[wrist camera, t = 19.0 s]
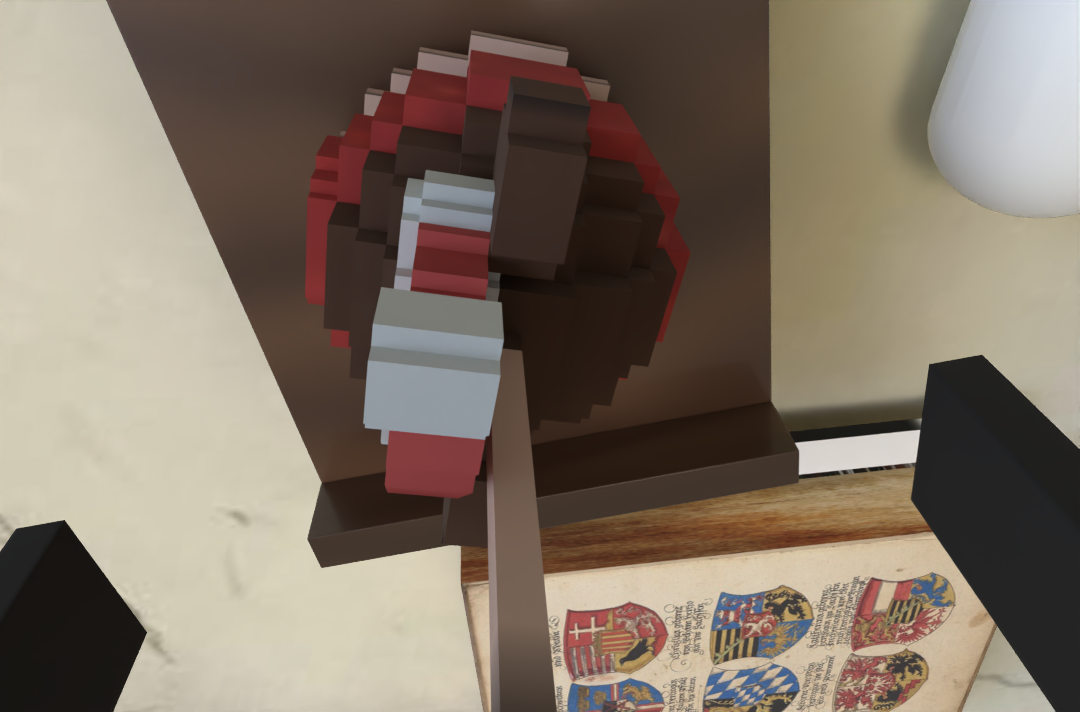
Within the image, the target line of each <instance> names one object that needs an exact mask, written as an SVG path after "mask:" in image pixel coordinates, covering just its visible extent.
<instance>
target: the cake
mask: <svg viewBox="0 0 1080 712" xmlns="http://www.w3.org/2000/svg"><path fill="white" fill-rule="evenodd" d="M568 53H569V52H568V50H567V48H565V47H559V46H554V45H548V44H543V43H538V42H532V41H527V40H521V39H516V38H511V37H505V36H500V35H494V34H489V33H483V32H478V31H473V30H471V38H470V46H469V53H468V55H462V54H457V53H451V52H445V51H440V50H434V49H429V48H423V47H420V49H419V53H418V64H417V69H416V68H413V71H410V70H404V69H399V68H393V71H392V74H391V87H390V92H389V91H384V90H378V89H372V88H368V89H367V91H366V93H365V104H364V115H363V114H357V113H355V115H354V117H353V119H352V121H351V123H350V125H349V127H348V129H347V131H341V133H340V135H339V137H337V136H331V135H327V137H326V138H325V140H324V142H323V144H322V146H321V147H320V149H319V151H318V153H317V154H316V169H315V171H314V173H313V175H312V176H311V178H310V193H309V195H308V197H307V237H306V280H305V298H307V303H309V304H317V305H324V327H323V328H324V329H331V345H330V346H333V347H342V348H351V360H350V377H349V378H355V379H364V380H366V393H365V406H364V419H363V424H365V428H371V429H381V430H382V431H381V444H387V445H388V449H387V459H386V476H385V487H386V490H387V493H399V494H410V495H422V496H434V497H444V503H443V519H442V538H441V543H443V544H445V545H458V546H471V547H484V548H488V572H489V627H490V681H491V712H557V707H556V697H555V686H554V676H553V666H552V655H551V645H550V635H549V624H548V614H547V604H546V594H545V583H544V573H543V563H542V552H541V542H540V532H539V521H538V511H537V501H536V490H535V480H534V470H533V459H532V449H531V439H530V434H531V435H532V433H533V430H539V428H540V423H541V420H548V421H558V422H567V423H577V424H580V423H581V419H589V417H590V413H591V410H592V406H593V404H594V405H603V406H611V403H612V399H613V396H614V393H615V389H616V386H617V382H618V379H621V380H627V378H628V375H629V371H630V368H631V365H637V366H645V367H648V366H649V363H650V359H651V356H652V353H653V350H654V346H655V343H656V342H663V339H664V336H665V333H666V329H667V326H668V323H669V320H670V317H671V314H672V310H673V307H674V304H675V301H676V298H677V295H678V291H679V288H680V285H681V282H682V279H683V275H684V272H685V269H686V266H687V263H688V260H689V256H690V253H691V252H690V250H689V249H688V247H687V245H686V243H685V242H684V240H683V238H682V236H681V234H680V233H679V231H678V229H677V227H676V226H675V224H674V222H673V221H674V218H675V215H676V211H677V208H678V204H679V201H680V197H679V196H678V194H677V192H676V191H675V189H674V188H673V186H672V184H671V183H670V181H669V180H668V178H667V176H666V175H665V173H664V172H663V170H662V169H661V166H660V165H659V163H658V162H657V160H656V158H655V157H654V155H653V154H652V152H651V150H650V149H649V147H648V146H647V144H646V143H645V141H644V139H643V138H642V136H641V134H640V132H639V131H638V129H637V128H636V126H635V124H634V123H633V121H632V120H631V118H630V116H629V115H628V113H627V112H626V110H625V109H624V107H623V105H622V104H617V103H611V102H607V98H608V94H609V89H610V85H609V83H608V82H607V80H602V79H596V78H591V77H585V76H580V74H579V72H578V70H577V69H576V68H571V67H566V64H567V59H568Z"/></svg>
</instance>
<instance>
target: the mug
mask: <svg viewBox="0 0 1080 712" xmlns="http://www.w3.org/2000/svg"><path fill="white" fill-rule="evenodd" d="M930 113H931V114H930V118H929V122H928V144H929V149H930V153H931V156H932V158H933V160H934V162H935V164H936V167H937V169H938V170H939V172H940V173H941V174H942V176H943V177H944V178H945V180H946V181H947V182H948V183H949V184H950V185H951V186H952V187H953V188H955V189H956V190H957V191H958V192H959V193H960V194H962V195H963V196H964V197H966V198H968V199H970V200H971V201H973V202H975V203H977V204H979V205H981V206H983V207H985V208H987V209H990V210H993V211H996V212H1000V213H1003V214H1007V215H1012V216H1018V217H1028V218H1053V217H1061V216H1068V215H1074V214H1078V213H1080V0H971V1H970V4H969V6H968V9H967V12H966V15H965V17H964V20H963V23H962V26H961V29H960V31H959V34H958V37H957V40H956V42H955V45H954V48H953V51H952V53H951V56H950V59H949V62H948V64H947V67H946V70H945V73H944V76H943V78H942V81H941V84H940V87H939V89H938V92H937V95H936V98H935V100H934V103H933V106H932V109H931V112H930Z"/></svg>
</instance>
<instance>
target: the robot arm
mask: <svg viewBox="0 0 1080 712" xmlns="http://www.w3.org/2000/svg"><path fill="white" fill-rule="evenodd" d="M911 501H912V502H913V504H914V505H915V507H916V508H917V510H918V511H919V512H920V514H921V515H922V517H923V518H924V520H925V521H926V523H927V524H928V526H929V527H930V529H931V530H932V531H933V533H934V534H935V536H936V537H937V539H938V540H939V542H940V543H941V545H942V546H943V548H944V549H945V550H946V552H947V553H948V555H949V556H950V558H951V559H952V561H953V562H954V564H955V565H956V567H957V568H958V569H959V571H960V572H961V574H962V575H963V577H964V578H965V580H966V581H967V583H968V584H969V586H970V587H971V588H972V590H973V591H974V593H975V594H976V596H977V597H978V599H979V600H980V602H981V603H982V605H983V606H984V607H985V609H986V610H987V612H988V613H989V615H990V616H991V618H992V619H993V621H994V622H995V624H996V625H997V626H998V628H999V629H1000V631H1001V632H1002V634H1003V635H1004V637H1005V638H1006V640H1007V641H1008V643H1009V644H1010V645H1011V647H1012V648H1013V650H1014V651H1015V653H1016V654H1017V656H1018V657H1019V659H1020V660H1021V662H1022V663H1023V664H1024V666H1025V667H1026V669H1027V670H1028V672H1029V673H1030V675H1031V676H1032V678H1033V679H1034V681H1035V682H1036V683H1037V685H1038V686H1039V688H1040V689H1041V691H1042V692H1043V694H1044V695H1045V697H1046V698H1047V699H1048V701H1049V702H1050V704H1051V705H1052V707H1053V708H1054V710H1055V711H1056V712H1080V449H1079V448H1078V447H1077V446H1076V445H1075V444H1074V443H1073V442H1072V441H1070V440H1069V439H1068V438H1067V437H1066V436H1065V435H1064V434H1063V433H1062V432H1061V431H1060V430H1059V429H1058V428H1057V427H1056V426H1055V425H1054V424H1053V423H1052V422H1051V421H1050V420H1049V419H1048V418H1047V417H1046V416H1045V415H1044V414H1043V413H1042V412H1041V411H1040V410H1038V409H1037V408H1036V407H1035V406H1034V405H1033V404H1032V403H1031V402H1030V401H1029V400H1028V399H1027V398H1026V397H1025V396H1024V395H1023V394H1022V393H1021V392H1020V391H1019V390H1018V389H1017V388H1016V387H1015V386H1014V385H1013V384H1012V383H1011V382H1010V381H1009V380H1007V379H1006V378H1005V377H1004V376H1003V375H1002V374H1001V373H1000V372H999V371H998V370H997V369H996V368H995V367H994V366H993V365H992V364H991V363H990V362H989V361H988V360H987V359H986V358H985V357H984V356H983V355H978V356H973V357H967V358H962V359H956V360H951V361H945V362H940V363H934V364H929V370H928V378H927V385H926V392H925V399H924V407H923V414H922V421H921V428H920V436H919V443H918V450H917V457H916V465H915V472H914V479H913V486H912V494H911ZM146 634H147V632H146V630H145V629H144V628H143V626H142V625H141V623H140V622H139V621H138V619H137V618H136V617H135V615H134V614H133V613H132V611H131V610H130V609H129V607H128V606H127V604H126V603H125V602H124V600H123V599H122V598H121V596H120V595H119V594H118V592H117V591H116V589H115V588H114V587H113V585H112V584H111V583H110V581H109V580H108V579H107V577H106V576H105V575H104V573H103V572H102V570H101V569H100V568H99V566H98V565H97V564H96V562H95V561H94V560H93V558H92V557H91V555H90V554H89V553H88V551H87V550H86V549H85V547H84V546H83V545H82V543H81V542H80V541H79V539H78V538H77V536H76V535H75V534H74V532H73V531H72V530H71V528H70V527H69V526H68V524H67V523H66V521H65V520H63V521H57V522H52V523H46V524H40V525H35V526H29V527H24V528H18V529H16V530H15V531H14V533H13V534H12V536H11V537H10V539H9V540H8V541H7V543H6V544H5V546H4V547H3V549H2V550H1V551H0V712H113V711H114V708H115V706H116V704H117V701H118V699H119V697H120V694H121V692H122V690H123V687H124V685H125V683H126V681H127V678H128V676H129V674H130V671H131V669H132V667H133V664H134V662H135V660H136V657H137V655H138V653H139V650H140V648H141V646H142V643H143V641H144V639H145V636H146Z"/></svg>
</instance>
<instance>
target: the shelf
mask: <svg viewBox="0 0 1080 712" xmlns="http://www.w3.org/2000/svg"><path fill="white" fill-rule="evenodd" d="M106 1H107V3H108V5H109V7H110V10H111V12H112V14H113V16H114V19H115V21H116V23H117V25H118V27H119V30H120V32H121V34H122V36H123V39H124V41H125V43H126V45H127V48H128V50H129V52H130V54H131V57H132V59H133V61H134V63H135V66H136V68H137V70H138V72H139V75H140V77H141V79H142V81H143V83H144V86H145V88H146V90H147V92H148V95H149V97H150V99H151V101H152V104H153V106H154V108H155V110H156V113H157V115H158V117H159V119H160V122H161V124H162V126H163V128H164V131H165V133H166V135H167V137H168V139H169V142H170V144H171V146H172V148H173V151H174V153H175V155H176V157H177V160H178V162H179V164H180V166H181V169H182V171H183V173H184V175H185V178H186V180H187V182H188V184H189V186H190V189H191V191H192V193H193V195H194V198H195V200H196V202H197V204H198V207H199V209H200V211H201V213H202V216H203V218H204V220H205V222H206V225H207V227H208V229H209V231H210V234H211V236H212V238H213V240H214V242H215V245H216V247H217V249H218V251H219V254H220V256H221V258H222V260H223V263H224V265H225V267H226V269H227V272H228V274H229V276H230V278H231V281H232V283H233V285H234V287H235V290H236V292H237V294H238V296H239V298H240V301H241V303H242V305H243V307H244V310H245V312H246V314H247V316H248V319H249V321H250V323H251V325H252V328H253V330H254V332H255V334H256V337H257V339H258V341H259V343H260V345H261V348H262V350H263V352H264V354H265V357H266V359H267V361H268V363H269V366H270V368H271V370H272V372H273V375H274V377H275V379H276V381H277V384H278V386H279V388H280V390H281V393H282V395H283V397H284V399H285V401H286V404H287V406H288V408H289V410H290V413H291V415H292V417H293V419H294V422H295V424H296V426H297V428H298V431H299V433H300V435H301V437H302V440H303V442H304V444H305V446H306V448H307V451H308V453H309V455H310V457H311V460H312V462H313V464H314V466H315V469H316V471H317V473H318V475H319V478H320V480H321V482H322V484H321V487H320V491H319V495H318V499H317V503H316V507H315V511H314V515H313V519H312V523H311V526H310V530H309V534H308V541H309V544H310V546H311V548H312V550H313V552H314V554H315V556H316V558H317V560H318V562H319V564H320V566H321V568H324V567H330V566H336V565H341V564H347V563H353V562H358V561H364V560H369V559H375V558H381V557H386V556H392V555H397V554H403V553H409V552H414V551H420V550H426V549H431V548H437V547H442V546H448V545H445V544H443V543H441V538H442V519H443V503H444V497H434V496H422V495H410V494H399V493H387V490H386V487H385V476H386V459H387V449H388V445H387V444H381V431H382V430H381V429H371V428H365V424H363V419H364V406H365V393H366V380H364V379H355V378H349V377H350V360H351V348H342V347H333V346H330V345H331V329H324V328H323V327H324V305H317V304H309V303H307V298H305V280H306V237H307V197H308V195H309V193H310V178H311V176H312V175H313V173H314V171H315V169H316V154H317V153H318V151H319V149H320V147H321V146H322V144H323V142H324V140H325V138H326V137H327V135H331V136H337V137H339V135H340V133H341V131H347V129H348V127H349V125H350V123H351V121H352V119H353V117H354V115H355V113H357V114H363V115H364V104H365V93H366V91H367V89H368V88H372V89H378V90H384V91H389V92H390V87H391V74H392V71H393V68H399V69H404V70H410V71H413V68H416V69H417V64H418V53H419V49H420V47H423V48H429V49H434V50H440V51H445V52H451V53H457V54H462V55H468V53H469V46H470V38H471V30H473V31H478V32H483V33H489V34H494V35H500V36H505V37H511V38H516V39H521V40H527V41H532V42H538V43H543V44H548V45H554V46H559V47H565V48H567V50H568V52H569V53H568V59H567V64H566V67H571V68H576V69H577V70H578V72H579V74H580V76H585V77H591V78H596V79H602V80H607V82H608V83H609V85H610V89H609V94H608V98H607V102H611V103H617V104H622V105H623V107H624V109H625V110H626V112H627V113H628V115H629V116H630V118H631V120H632V121H633V123H634V124H635V126H636V128H637V129H638V131H639V132H640V134H641V136H642V138H643V139H644V141H645V143H646V144H647V146H648V147H649V149H650V150H651V152H652V154H653V155H654V157H655V158H656V160H657V162H658V163H659V165H660V166H661V169H662V170H663V172H664V173H665V175H666V176H667V178H668V180H669V181H670V183H671V184H672V186H673V188H674V189H675V191H676V192H677V194H678V196H679V197H680V201H679V204H678V208H677V211H676V215H675V218H674V221H673V222H674V224H675V226H676V227H677V229H678V231H679V233H680V234H681V236H682V238H683V240H684V242H685V243H686V245H687V247H688V249H689V250H690V252H691V253H690V256H689V260H688V263H687V266H686V269H685V272H684V275H683V279H682V282H681V285H680V288H679V291H678V295H677V298H676V301H675V304H674V307H673V310H672V314H671V317H670V320H669V323H668V326H667V329H666V333H665V336H664V339H663V342H656V343H655V346H654V350H653V353H652V356H651V359H650V363H649V366H648V367H645V366H637V365H631V368H630V371H629V375H628V378H627V380H621V379H618V382H617V386H616V389H615V393H614V396H613V399H612V403H611V406H603V405H594V404H593V406H592V410H591V413H590V417H589V419H581V423H580V424H577V423H567V422H558V421H548V420H541V423H540V428H539V430H533V433H532V435H531V434H530V439H531V449H532V459H533V470H534V480H535V490H536V501H537V511H538V521H539V529H544V528H549V527H555V526H560V525H566V524H572V523H577V522H583V521H589V520H594V519H600V518H605V517H611V516H617V515H622V514H628V513H633V512H639V511H645V510H650V509H656V508H662V507H667V506H673V505H678V504H684V503H690V502H695V501H701V500H707V499H712V498H718V497H723V496H729V495H735V494H740V493H746V492H752V491H757V490H763V489H768V488H774V487H780V486H785V485H791V484H796V483H799V449H798V448H797V446H796V444H795V442H794V440H793V439H792V437H791V435H790V433H789V431H788V430H787V428H786V426H785V424H784V423H783V421H782V419H781V417H780V415H779V414H778V412H777V410H776V408H775V407H774V405H773V403H772V402H771V273H770V109H769V0H106Z"/></svg>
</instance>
